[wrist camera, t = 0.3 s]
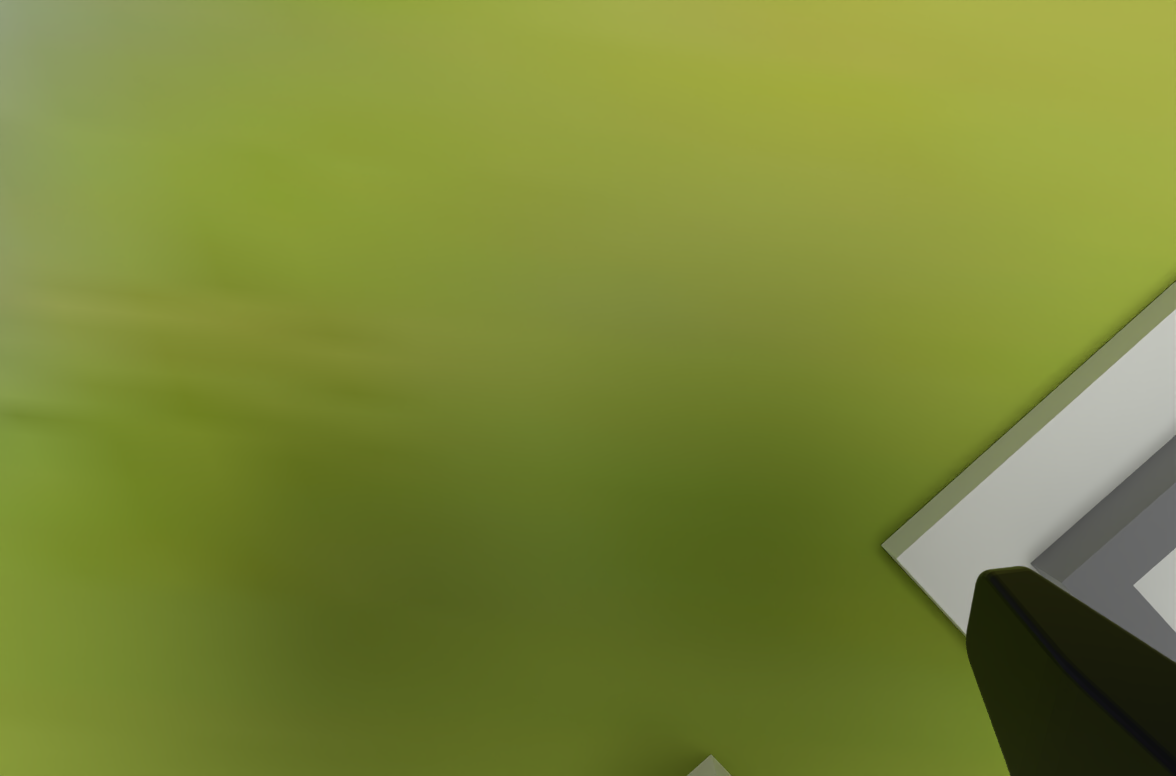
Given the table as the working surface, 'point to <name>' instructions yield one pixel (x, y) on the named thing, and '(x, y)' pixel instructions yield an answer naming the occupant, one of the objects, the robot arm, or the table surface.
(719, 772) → the grey green box
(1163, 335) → the socket plate
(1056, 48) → the table surface
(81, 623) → the table surface
